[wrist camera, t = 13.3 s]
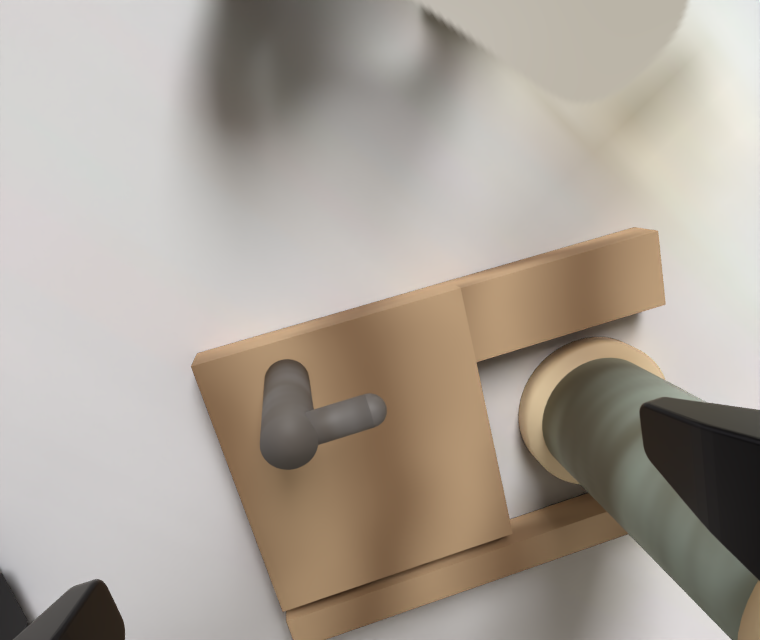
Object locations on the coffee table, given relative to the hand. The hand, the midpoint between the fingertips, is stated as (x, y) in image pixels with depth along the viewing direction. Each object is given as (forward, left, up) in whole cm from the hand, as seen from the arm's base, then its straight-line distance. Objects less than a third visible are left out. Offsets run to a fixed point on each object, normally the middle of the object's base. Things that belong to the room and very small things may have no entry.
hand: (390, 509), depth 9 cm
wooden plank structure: (+4, -7, -13) cm, 15 cm away
